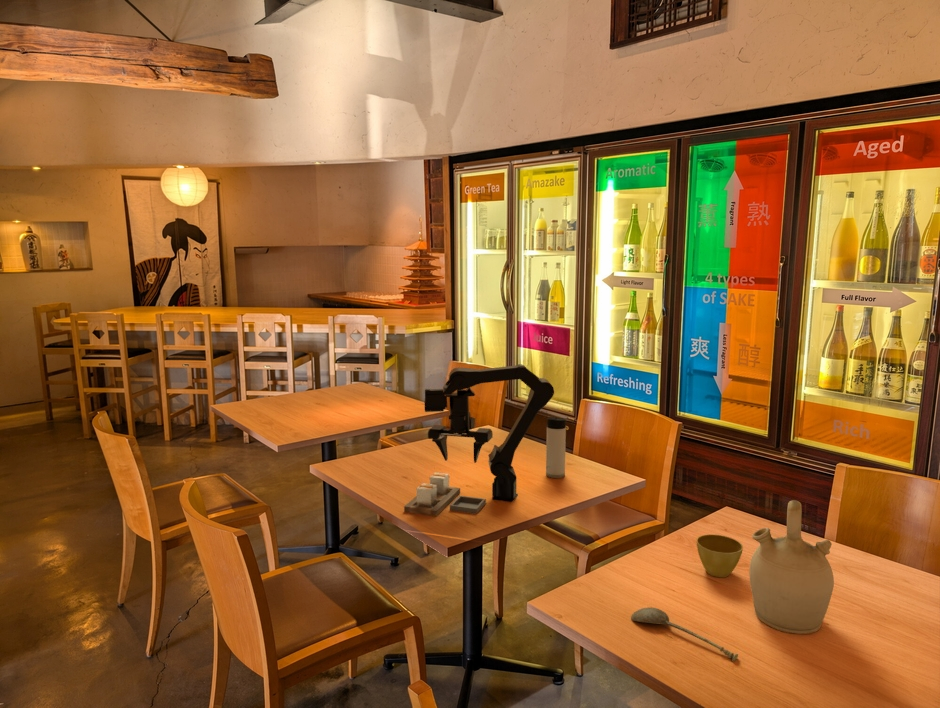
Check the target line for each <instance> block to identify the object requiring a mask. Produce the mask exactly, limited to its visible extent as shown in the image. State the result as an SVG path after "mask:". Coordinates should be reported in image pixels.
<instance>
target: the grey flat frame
mask: <svg viewBox="0 0 940 708" xmlns="http://www.w3.org/2000/svg"><path fill="white" fill-rule="evenodd" d="M460 494H461V488H460V487H455V486H449V493H448V494H447V495H446V496H441V495H437V505H435V506H434V507H433V508H426V507H419V506H417V495H416V496H415V497H413V498H412V499H411V500H410V501H409V502H407V503H406V504H405V505H404V506H403V511H404V513H410V514H417V515H424V516H431V517H438V516H439V515H440V514H441V513H442V512H443V511H444V510H445V509H446V508H447V507H448V506H450V505H451V504H452V503H453V502H454V501H455V500H456V499H457V498H458V497H459V496H460Z"/></svg>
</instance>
